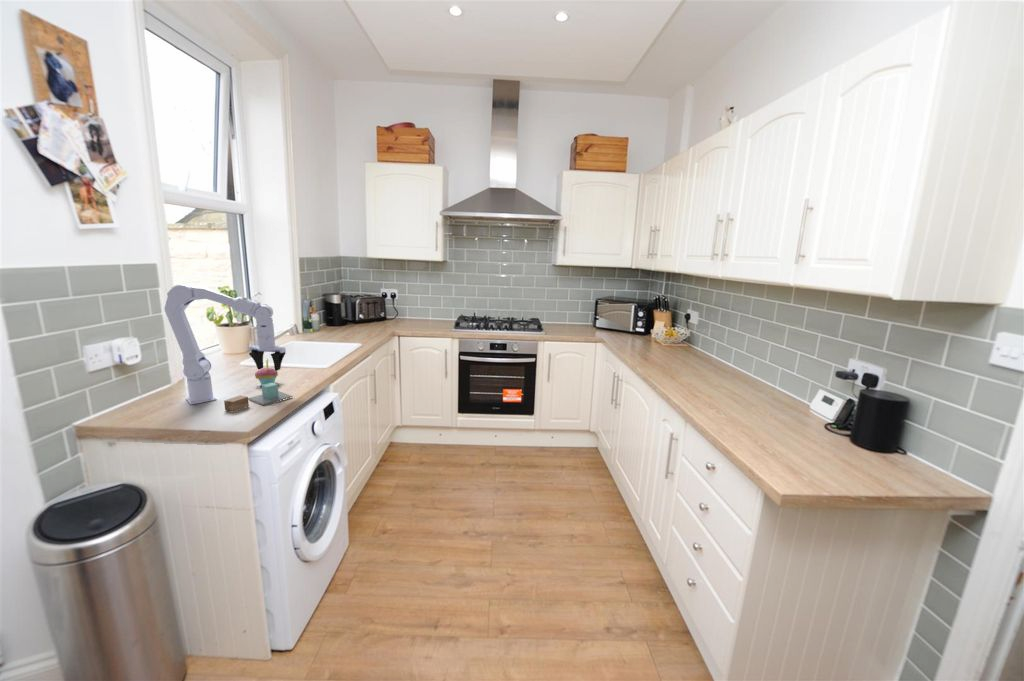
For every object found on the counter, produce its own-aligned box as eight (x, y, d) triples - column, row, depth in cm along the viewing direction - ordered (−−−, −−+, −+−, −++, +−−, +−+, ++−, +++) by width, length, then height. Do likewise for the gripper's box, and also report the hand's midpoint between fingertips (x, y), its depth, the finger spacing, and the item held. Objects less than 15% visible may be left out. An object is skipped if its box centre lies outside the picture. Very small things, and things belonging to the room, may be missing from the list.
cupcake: (282, 383, 176) (280, 357, 174) (262, 388, 169) (259, 361, 167) (272, 380, 181) (269, 354, 179) (252, 384, 174) (249, 357, 172)
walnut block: (225, 411, 145) (224, 400, 144) (240, 405, 150) (239, 395, 150) (233, 412, 144) (232, 401, 143) (249, 407, 149) (247, 396, 148)
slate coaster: (248, 399, 156) (248, 397, 156) (277, 392, 165) (277, 390, 165) (263, 405, 150) (263, 403, 150) (292, 398, 159) (292, 396, 159)
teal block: (262, 397, 157) (261, 385, 156) (273, 394, 160) (272, 382, 159) (268, 399, 155) (266, 387, 154) (278, 396, 158) (277, 384, 157)
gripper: (241, 336, 155) (244, 370, 158) (275, 338, 153) (278, 373, 156) (255, 333, 162) (258, 366, 165) (288, 335, 160) (290, 368, 163)
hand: (269, 369), depth 161 cm, fingers open, 7 cm apart
